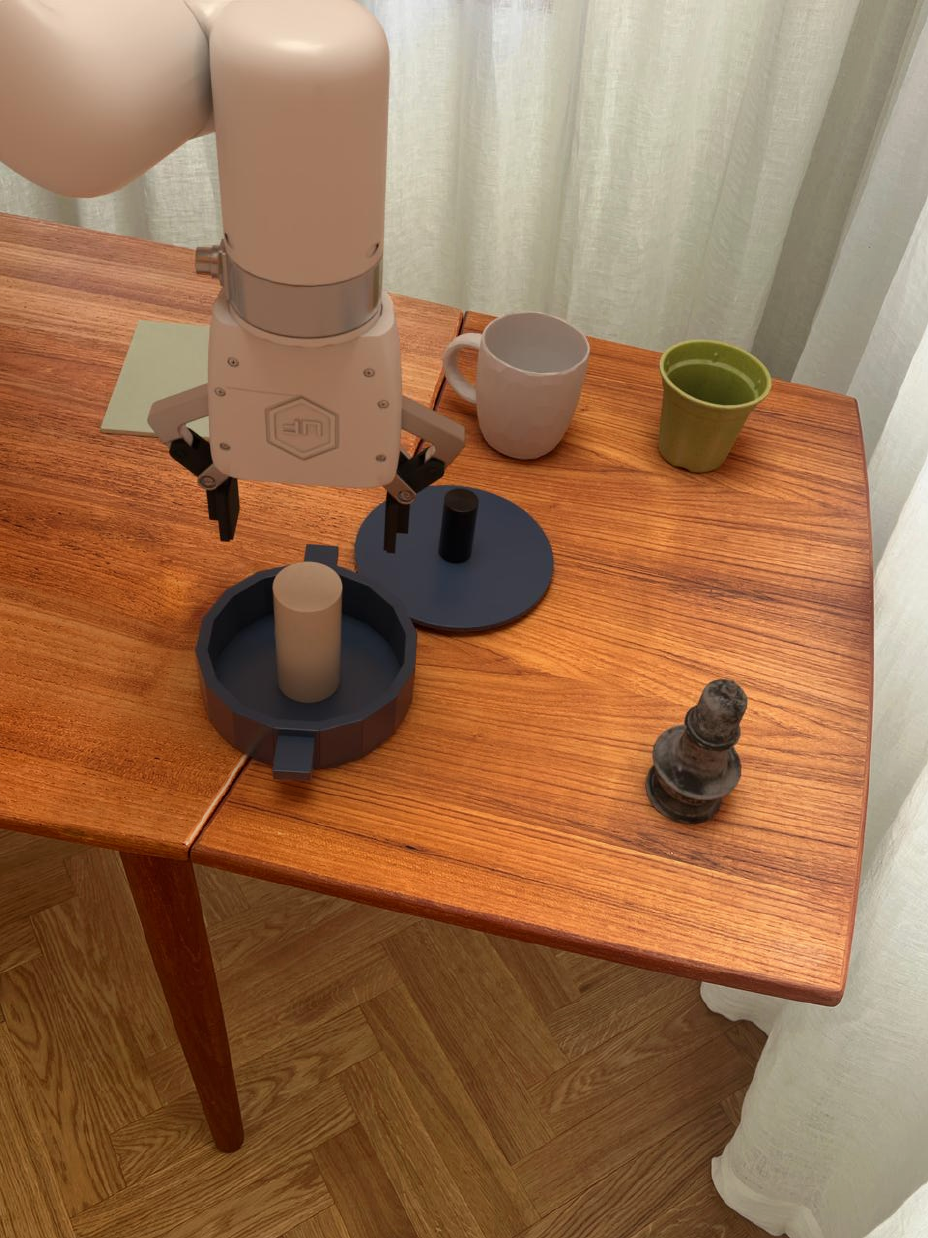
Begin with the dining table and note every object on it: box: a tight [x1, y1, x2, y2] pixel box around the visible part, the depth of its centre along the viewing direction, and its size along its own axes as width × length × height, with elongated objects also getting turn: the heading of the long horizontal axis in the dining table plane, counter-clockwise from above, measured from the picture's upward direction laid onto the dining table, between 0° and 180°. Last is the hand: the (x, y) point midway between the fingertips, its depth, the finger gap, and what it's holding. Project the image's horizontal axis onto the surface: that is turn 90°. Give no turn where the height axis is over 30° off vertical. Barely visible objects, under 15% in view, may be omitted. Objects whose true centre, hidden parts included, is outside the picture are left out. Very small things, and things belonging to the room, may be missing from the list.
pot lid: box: [353, 484, 555, 633], centre depth 85 cm, size 16×16×7 cm
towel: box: [99, 319, 210, 442], centre depth 99 cm, size 20×16×1 cm
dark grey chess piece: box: [644, 678, 748, 825], centre depth 71 cm, size 6×6×12 cm
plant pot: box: [657, 339, 772, 473], centre depth 96 cm, size 9×9×9 cm
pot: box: [194, 543, 418, 782], centre depth 76 cm, size 15×20×4 cm
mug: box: [442, 310, 591, 460], centre depth 95 cm, size 13×9×10 cm
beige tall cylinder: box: [273, 561, 342, 703], centre depth 74 cm, size 4×4×10 cm
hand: (310, 531), depth 67 cm, fingers open, 9 cm apart
